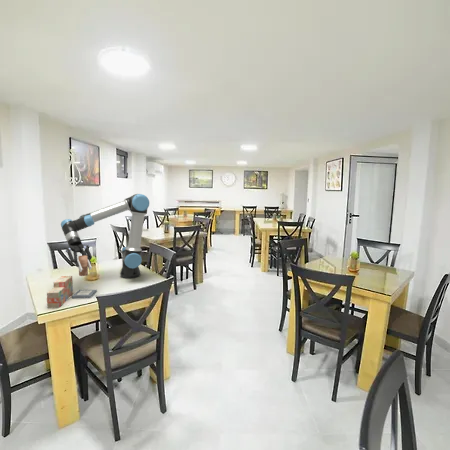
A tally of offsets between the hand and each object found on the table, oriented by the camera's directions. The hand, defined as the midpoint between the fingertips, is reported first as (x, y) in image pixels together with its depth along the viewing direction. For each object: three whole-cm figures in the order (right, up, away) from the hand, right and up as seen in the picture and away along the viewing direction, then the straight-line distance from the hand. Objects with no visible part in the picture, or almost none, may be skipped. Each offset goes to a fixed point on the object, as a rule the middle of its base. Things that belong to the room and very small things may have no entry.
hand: (86, 269), depth 171 cm
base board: (-3, -17, +5) cm, 18 cm away
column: (-3, -4, +3) cm, 6 cm away
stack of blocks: (-13, -18, -5) cm, 23 cm away
